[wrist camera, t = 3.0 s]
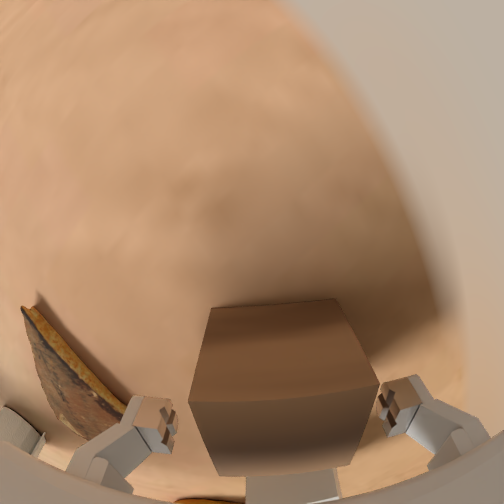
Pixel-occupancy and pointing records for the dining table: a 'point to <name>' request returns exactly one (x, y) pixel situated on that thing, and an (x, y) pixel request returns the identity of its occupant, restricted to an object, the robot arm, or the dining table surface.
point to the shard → (70, 381)
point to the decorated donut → (201, 501)
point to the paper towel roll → (20, 432)
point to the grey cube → (294, 488)
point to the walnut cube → (281, 389)
